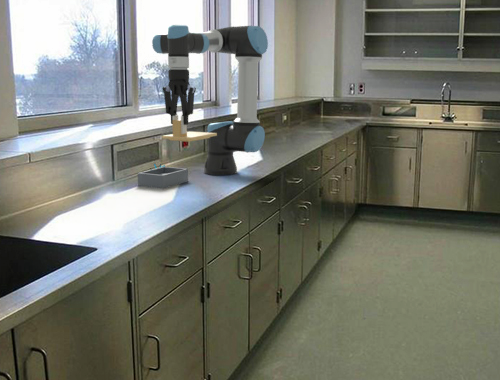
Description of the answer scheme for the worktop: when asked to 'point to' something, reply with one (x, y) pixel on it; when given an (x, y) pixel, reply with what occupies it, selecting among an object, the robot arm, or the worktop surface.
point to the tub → (162, 177)
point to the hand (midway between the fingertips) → (179, 133)
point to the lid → (188, 136)
